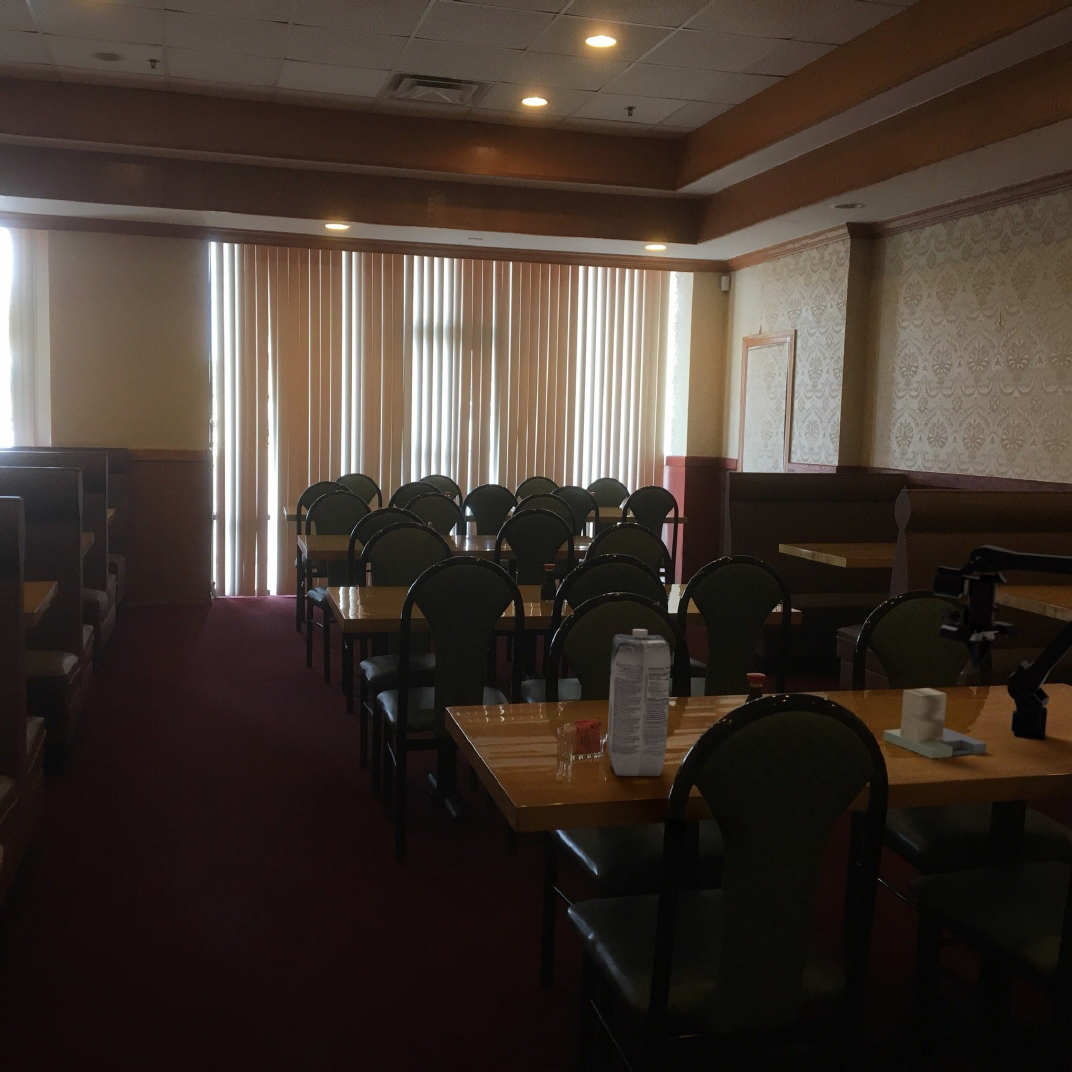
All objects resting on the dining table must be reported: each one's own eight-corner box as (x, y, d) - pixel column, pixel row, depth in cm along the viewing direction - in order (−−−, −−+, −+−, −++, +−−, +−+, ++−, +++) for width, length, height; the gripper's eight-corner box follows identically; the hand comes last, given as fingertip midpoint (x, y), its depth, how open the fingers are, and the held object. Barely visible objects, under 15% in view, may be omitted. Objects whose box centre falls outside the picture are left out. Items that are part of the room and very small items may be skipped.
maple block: (925, 733, 233) (928, 687, 232) (942, 740, 229) (946, 693, 228) (900, 736, 230) (903, 690, 229) (917, 743, 226) (921, 696, 225)
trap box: (936, 733, 241) (936, 724, 240) (986, 752, 228) (986, 743, 228) (883, 739, 234) (884, 730, 234) (931, 759, 222) (932, 749, 222)
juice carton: (667, 778, 203) (674, 636, 200) (611, 778, 202) (618, 635, 199) (658, 763, 212) (665, 627, 209) (604, 762, 211) (611, 625, 208)
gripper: (983, 593, 258) (977, 658, 260) (923, 596, 250) (918, 662, 252) (1022, 601, 248) (1016, 669, 250) (961, 604, 240) (955, 674, 242)
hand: (975, 668), depth 248 cm, fingers closed
